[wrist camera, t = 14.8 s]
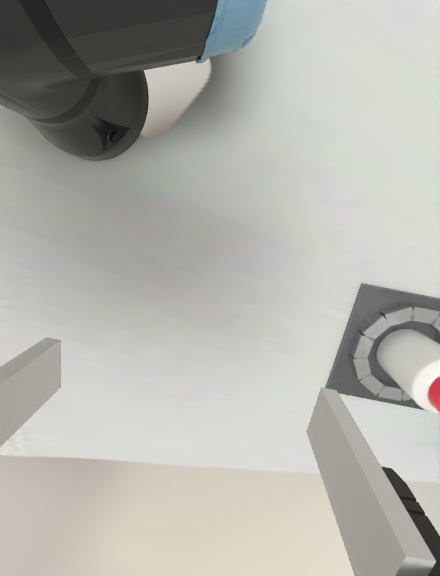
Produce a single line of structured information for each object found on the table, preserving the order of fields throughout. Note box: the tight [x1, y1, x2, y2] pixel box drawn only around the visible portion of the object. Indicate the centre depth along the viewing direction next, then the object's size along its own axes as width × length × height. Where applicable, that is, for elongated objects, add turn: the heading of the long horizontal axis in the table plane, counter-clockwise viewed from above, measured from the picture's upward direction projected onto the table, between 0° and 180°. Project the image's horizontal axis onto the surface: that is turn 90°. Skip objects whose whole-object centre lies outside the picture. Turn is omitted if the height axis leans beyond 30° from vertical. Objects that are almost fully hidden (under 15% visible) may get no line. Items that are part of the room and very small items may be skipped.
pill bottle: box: [376, 329, 440, 413], centre depth 34 cm, size 8×8×11 cm
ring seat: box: [326, 284, 440, 410], centre depth 39 cm, size 18×18×2 cm
